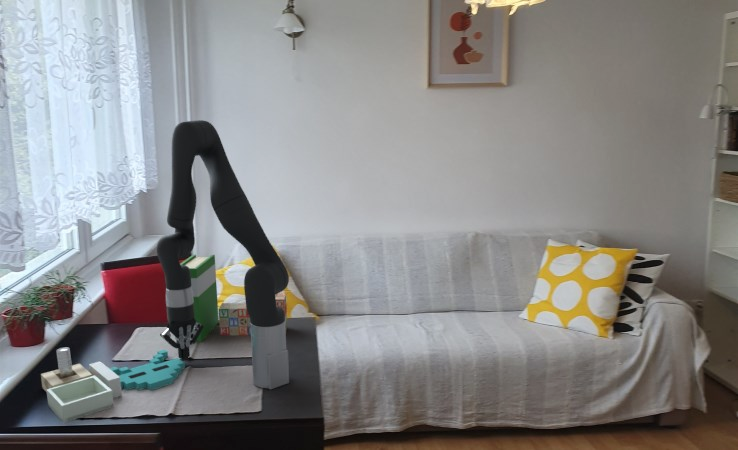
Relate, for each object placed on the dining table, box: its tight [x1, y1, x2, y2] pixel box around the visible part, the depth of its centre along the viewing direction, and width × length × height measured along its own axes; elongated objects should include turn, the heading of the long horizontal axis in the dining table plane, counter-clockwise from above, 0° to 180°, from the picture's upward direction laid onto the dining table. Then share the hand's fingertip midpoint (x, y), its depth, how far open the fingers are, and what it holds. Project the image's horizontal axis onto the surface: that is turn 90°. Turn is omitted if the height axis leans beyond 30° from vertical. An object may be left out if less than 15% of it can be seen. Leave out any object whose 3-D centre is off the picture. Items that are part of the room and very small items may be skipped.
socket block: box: [40, 363, 92, 393], centre depth 174 cm, size 10×10×4 cm
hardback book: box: [179, 254, 220, 343], centre depth 212 cm, size 18×7×24 cm, turn 175°
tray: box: [46, 376, 114, 424], centre depth 164 cm, size 12×12×4 cm
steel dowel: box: [55, 346, 73, 379], centre depth 173 cm, size 3×3×11 cm
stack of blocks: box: [218, 293, 288, 336], centre depth 213 cm, size 21×6×12 cm, turn 91°
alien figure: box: [108, 349, 186, 391], centre depth 182 cm, size 20×2×20 cm
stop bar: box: [88, 361, 123, 399], centre depth 174 cm, size 14×3×5 cm, turn 42°
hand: (184, 359), depth 189 cm, fingers closed
